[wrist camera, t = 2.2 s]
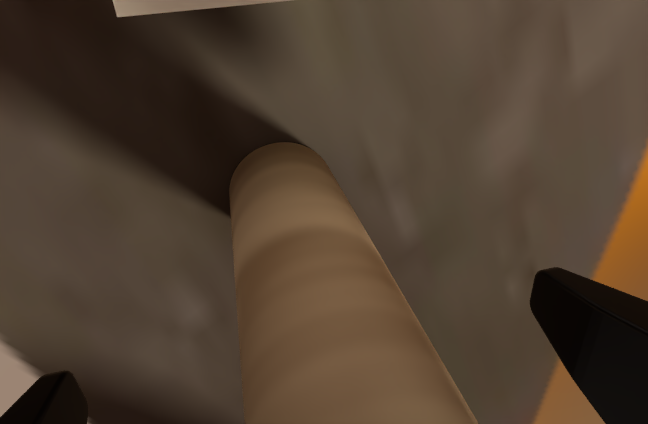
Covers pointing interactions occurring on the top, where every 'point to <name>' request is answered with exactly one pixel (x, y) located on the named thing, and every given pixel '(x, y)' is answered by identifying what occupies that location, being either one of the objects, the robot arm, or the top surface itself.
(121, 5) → the socket
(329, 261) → the dowel
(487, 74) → the top surface
